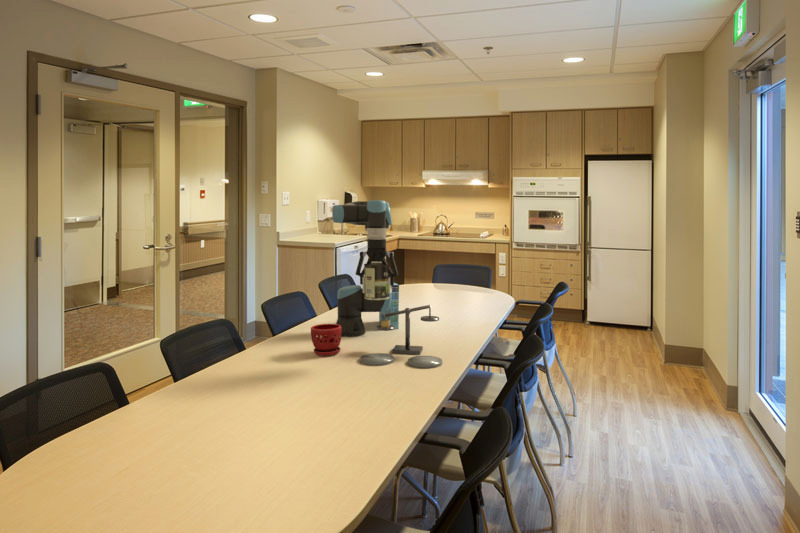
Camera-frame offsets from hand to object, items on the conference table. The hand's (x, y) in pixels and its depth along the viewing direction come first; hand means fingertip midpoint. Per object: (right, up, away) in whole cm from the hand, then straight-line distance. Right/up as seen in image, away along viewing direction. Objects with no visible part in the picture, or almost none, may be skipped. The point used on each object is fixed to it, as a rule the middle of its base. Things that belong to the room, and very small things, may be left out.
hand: (377, 292), depth 239 cm
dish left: (0, -28, +2) cm, 28 cm away
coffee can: (0, -2, 0) cm, 2 cm away
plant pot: (-22, -27, +14) cm, 38 cm away
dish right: (+20, -28, -1) cm, 35 cm away
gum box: (+4, -20, +67) cm, 70 cm away
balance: (+13, -26, +16) cm, 33 cm away
